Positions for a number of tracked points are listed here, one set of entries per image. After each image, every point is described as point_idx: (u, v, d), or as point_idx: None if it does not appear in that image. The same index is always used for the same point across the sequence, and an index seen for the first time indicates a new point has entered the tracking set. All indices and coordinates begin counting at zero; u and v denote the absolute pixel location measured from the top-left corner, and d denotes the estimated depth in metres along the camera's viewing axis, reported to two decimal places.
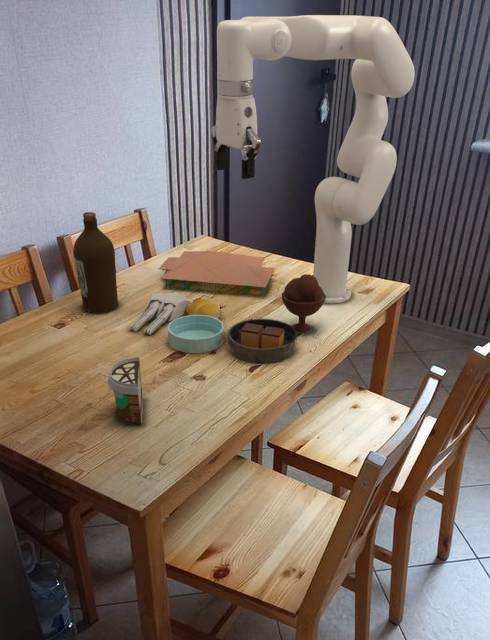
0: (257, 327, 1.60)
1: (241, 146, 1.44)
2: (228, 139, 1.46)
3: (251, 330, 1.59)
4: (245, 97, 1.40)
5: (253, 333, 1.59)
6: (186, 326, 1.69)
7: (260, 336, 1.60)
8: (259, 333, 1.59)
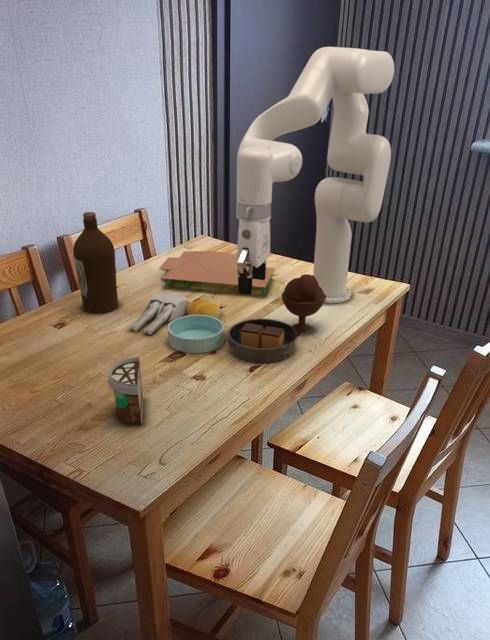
0: (257, 327, 1.60)
1: None
2: None
3: (251, 330, 1.59)
4: (247, 220, 1.42)
5: (253, 333, 1.59)
6: (186, 326, 1.69)
7: (260, 336, 1.60)
8: (259, 333, 1.59)
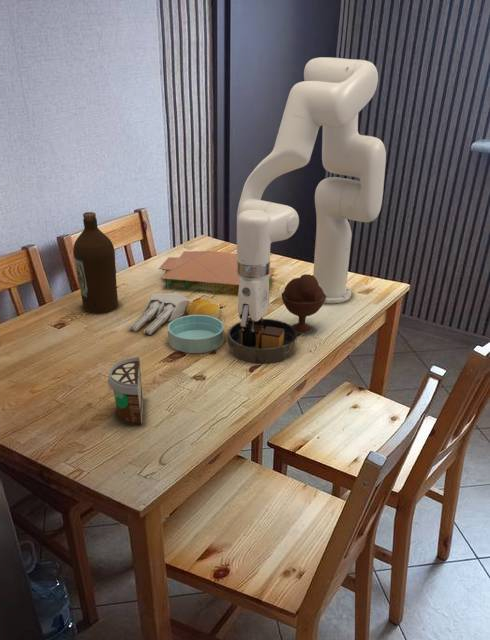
0: (257, 327, 1.60)
1: (239, 317, 1.55)
2: None
3: None
4: (247, 278, 1.49)
5: None
6: (186, 326, 1.69)
7: (260, 336, 1.60)
8: (259, 333, 1.59)
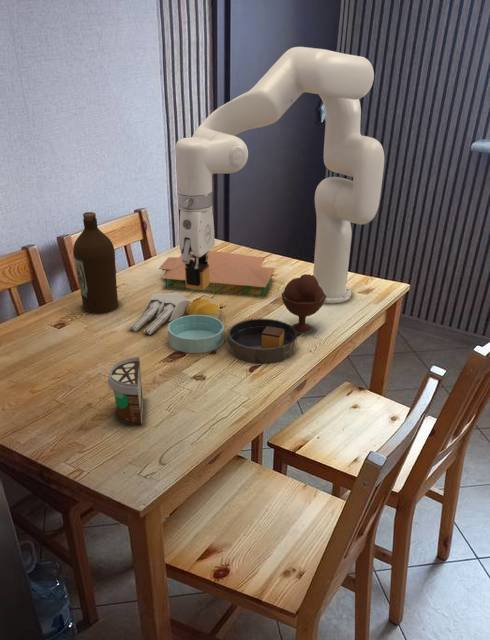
0: (202, 266, 1.54)
1: (181, 253, 1.48)
2: None
3: None
4: (188, 210, 1.43)
5: None
6: (186, 326, 1.69)
7: (205, 275, 1.54)
8: (204, 271, 1.53)
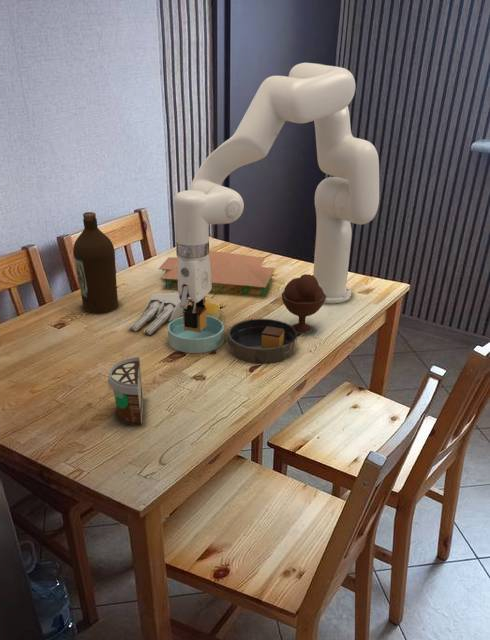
0: (199, 309, 1.60)
1: (179, 298, 1.55)
2: None
3: None
4: (186, 259, 1.50)
5: None
6: None
7: (202, 318, 1.61)
8: (201, 315, 1.59)
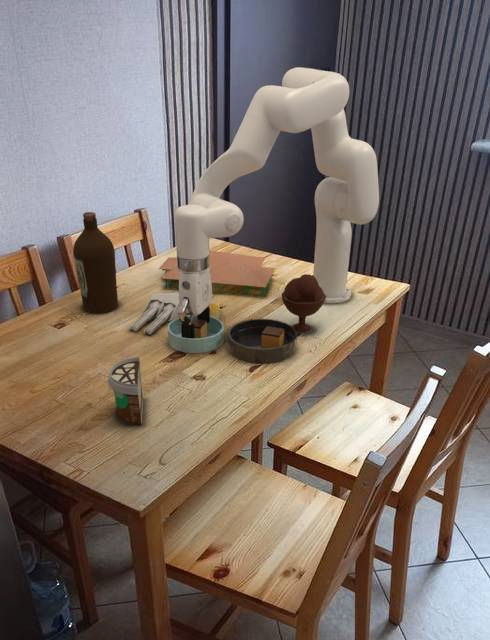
0: (200, 322, 1.62)
1: None
2: None
3: (194, 325, 1.61)
4: (187, 272, 1.52)
5: (196, 327, 1.61)
6: None
7: (203, 331, 1.63)
8: (201, 328, 1.61)
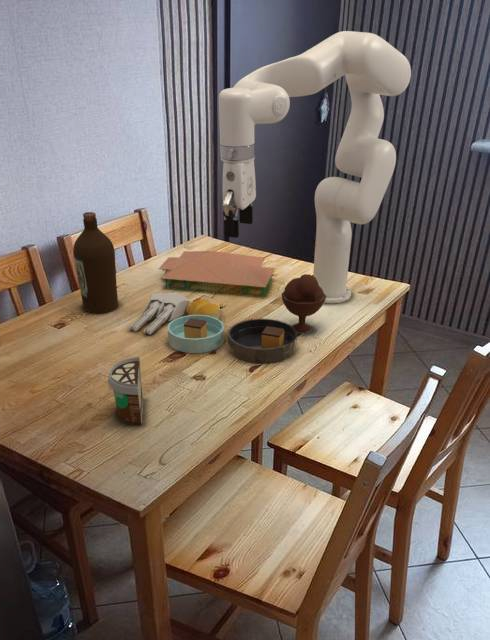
0: (200, 322, 1.62)
1: None
2: None
3: (194, 325, 1.61)
4: (231, 162, 1.44)
5: (196, 327, 1.61)
6: None
7: (203, 331, 1.63)
8: (201, 328, 1.61)
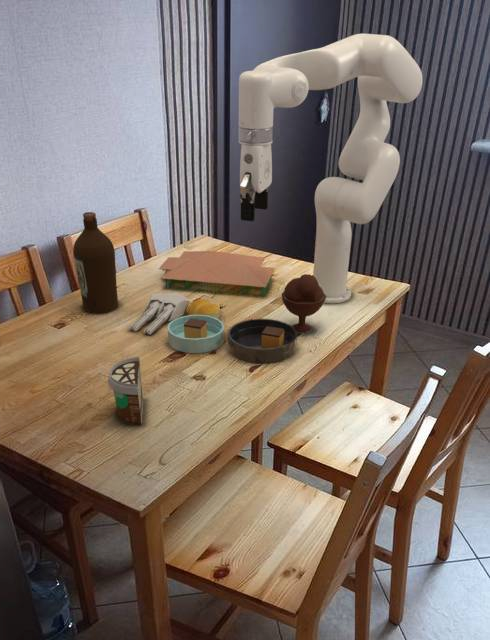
0: (200, 322, 1.62)
1: None
2: None
3: (194, 325, 1.61)
4: (250, 144, 1.45)
5: (196, 327, 1.61)
6: None
7: (203, 331, 1.63)
8: (201, 328, 1.61)
